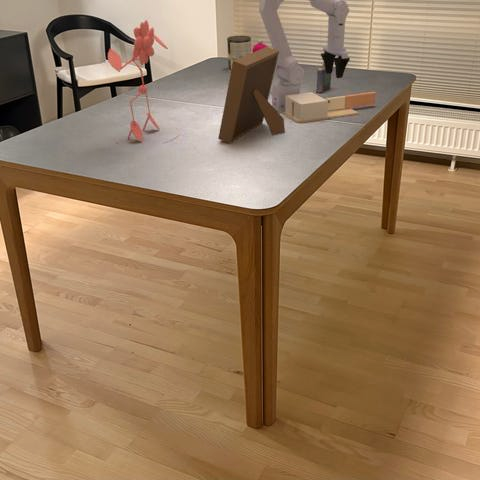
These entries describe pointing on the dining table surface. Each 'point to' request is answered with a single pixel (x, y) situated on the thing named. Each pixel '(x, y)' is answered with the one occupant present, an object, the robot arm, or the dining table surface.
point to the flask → (323, 79)
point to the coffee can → (238, 48)
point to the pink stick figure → (143, 51)
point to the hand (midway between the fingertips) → (334, 75)
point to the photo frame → (250, 96)
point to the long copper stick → (351, 101)
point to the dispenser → (311, 108)
